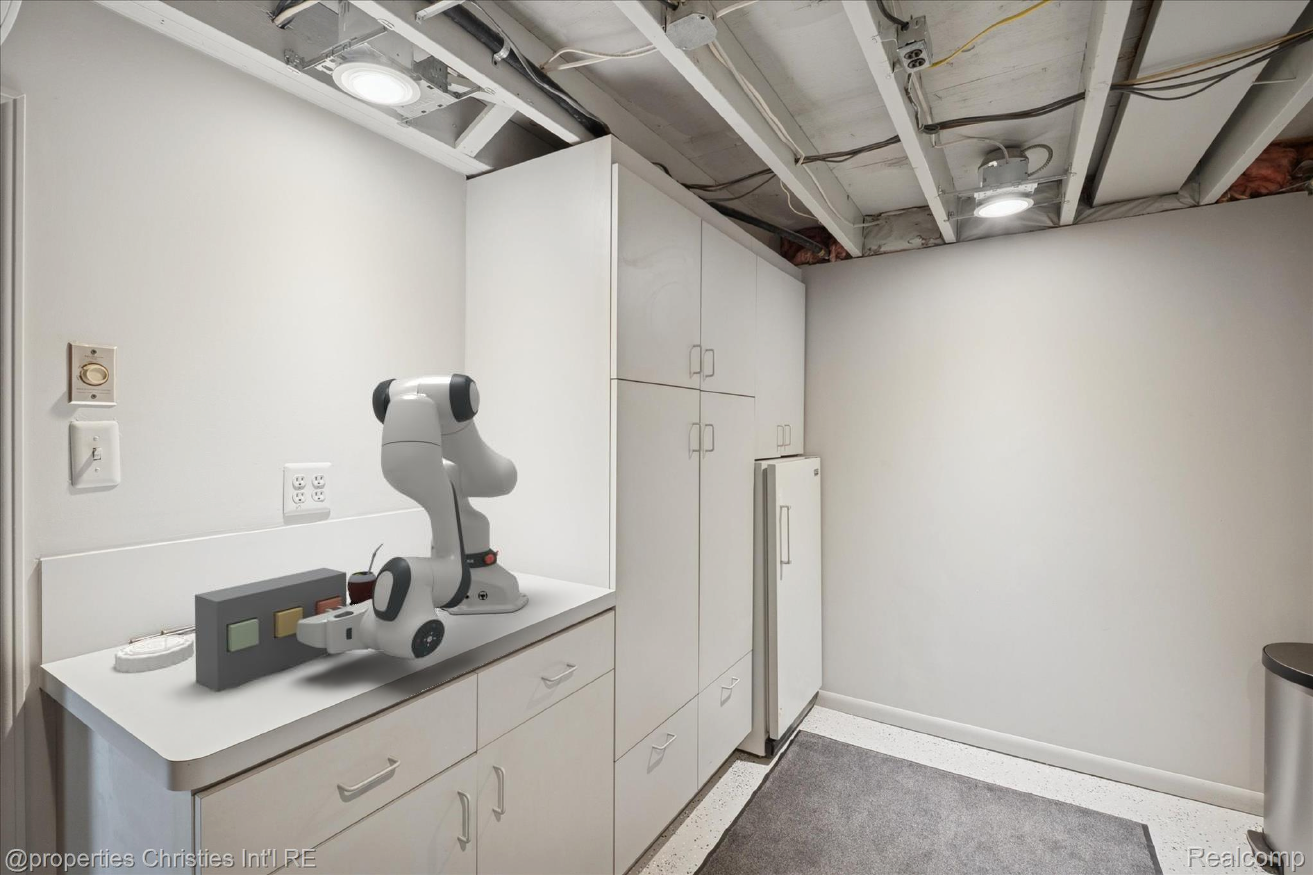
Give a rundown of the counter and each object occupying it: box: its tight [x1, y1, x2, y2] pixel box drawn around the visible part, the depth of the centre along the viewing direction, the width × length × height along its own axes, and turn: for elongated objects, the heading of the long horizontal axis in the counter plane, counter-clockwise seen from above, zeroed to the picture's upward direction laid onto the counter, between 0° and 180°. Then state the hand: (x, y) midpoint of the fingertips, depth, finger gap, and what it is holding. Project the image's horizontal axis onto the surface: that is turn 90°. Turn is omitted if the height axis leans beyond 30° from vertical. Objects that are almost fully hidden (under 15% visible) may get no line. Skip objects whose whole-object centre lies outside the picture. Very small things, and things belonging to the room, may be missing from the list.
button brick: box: [316, 597, 342, 615], centre depth 123 cm, size 3×4×4 cm
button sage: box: [227, 618, 259, 651], centre depth 109 cm, size 3×4×4 cm
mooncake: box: [114, 634, 195, 674], centre depth 119 cm, size 12×12×4 cm
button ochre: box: [274, 607, 303, 638], centre depth 116 cm, size 3×4×4 cm
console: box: [194, 567, 348, 693], centre depth 118 cm, size 8×24×16 cm, turn 150°
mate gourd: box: [346, 543, 384, 605], centre depth 157 cm, size 8×8×15 cm
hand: (331, 611), depth 122 cm, fingers closed, pressing on button brick
